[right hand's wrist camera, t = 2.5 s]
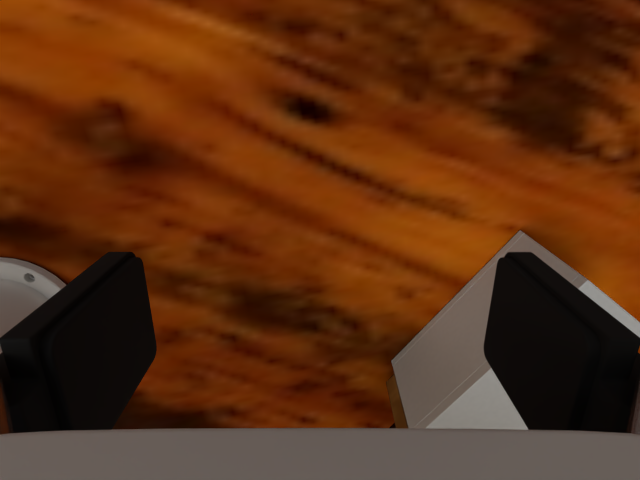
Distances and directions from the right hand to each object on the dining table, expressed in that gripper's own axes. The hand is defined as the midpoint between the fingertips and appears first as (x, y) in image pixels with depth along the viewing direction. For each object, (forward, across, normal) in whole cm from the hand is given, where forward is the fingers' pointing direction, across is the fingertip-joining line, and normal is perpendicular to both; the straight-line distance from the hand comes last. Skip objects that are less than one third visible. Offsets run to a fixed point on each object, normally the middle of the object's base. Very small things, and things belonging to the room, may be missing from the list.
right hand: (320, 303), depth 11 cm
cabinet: (+23, +14, -14) cm, 31 cm away
